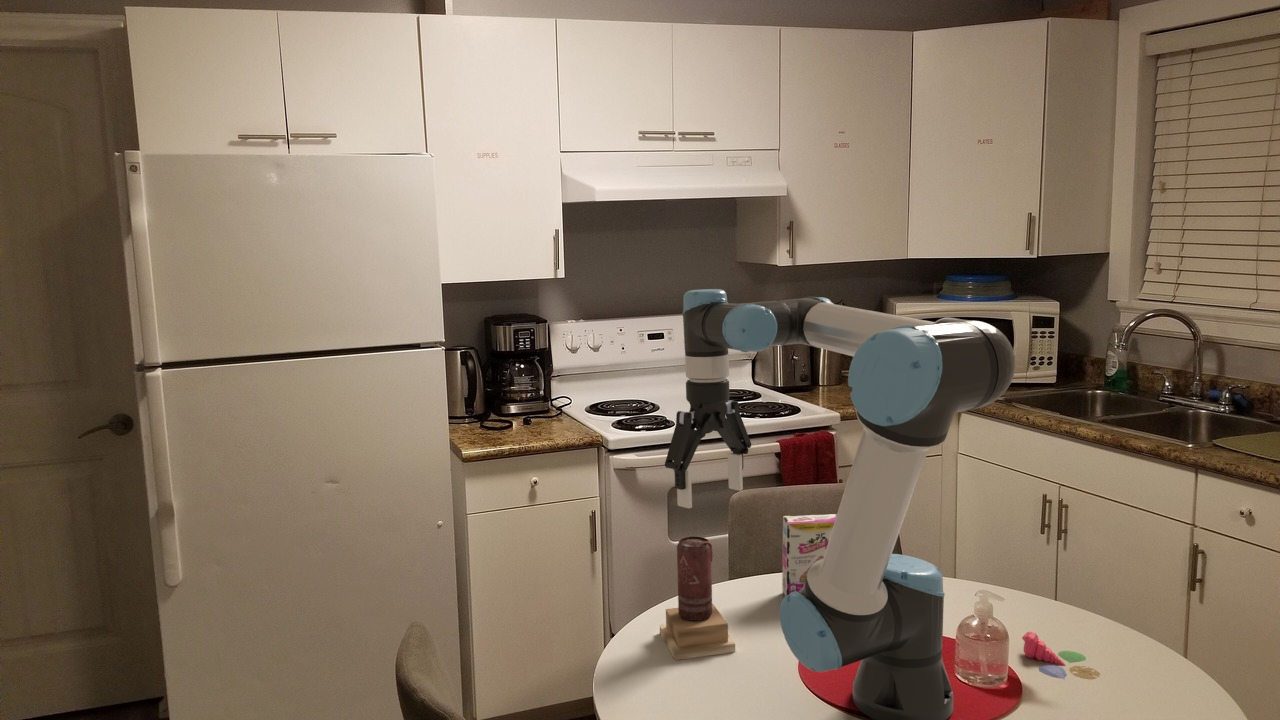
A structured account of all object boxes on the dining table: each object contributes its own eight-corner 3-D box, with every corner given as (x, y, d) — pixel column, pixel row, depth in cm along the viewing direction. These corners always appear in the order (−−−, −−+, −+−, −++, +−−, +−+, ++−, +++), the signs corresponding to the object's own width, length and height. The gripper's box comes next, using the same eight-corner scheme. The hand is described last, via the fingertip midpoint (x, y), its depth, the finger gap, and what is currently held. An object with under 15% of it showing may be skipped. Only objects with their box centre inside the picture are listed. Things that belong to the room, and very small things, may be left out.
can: (714, 622, 163) (713, 546, 161) (679, 622, 163) (677, 547, 161) (712, 607, 169) (711, 534, 167) (678, 608, 169) (676, 535, 167)
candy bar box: (787, 602, 182) (786, 523, 180) (781, 592, 187) (781, 515, 184) (842, 599, 183) (842, 520, 180) (835, 589, 188) (835, 512, 185)
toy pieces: (1021, 675, 151) (1022, 650, 151) (1021, 646, 161) (1022, 622, 161) (1103, 687, 147) (1104, 661, 146) (1097, 656, 157) (1098, 631, 156)
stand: (735, 651, 162) (734, 625, 161) (675, 660, 160) (674, 633, 159) (716, 625, 173) (716, 600, 172) (659, 633, 170) (659, 607, 170)
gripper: (736, 367, 170) (739, 479, 173) (640, 387, 153) (645, 510, 156) (768, 371, 165) (771, 485, 168) (673, 391, 147) (678, 518, 150)
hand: (711, 497), depth 162 cm, fingers open, 13 cm apart
